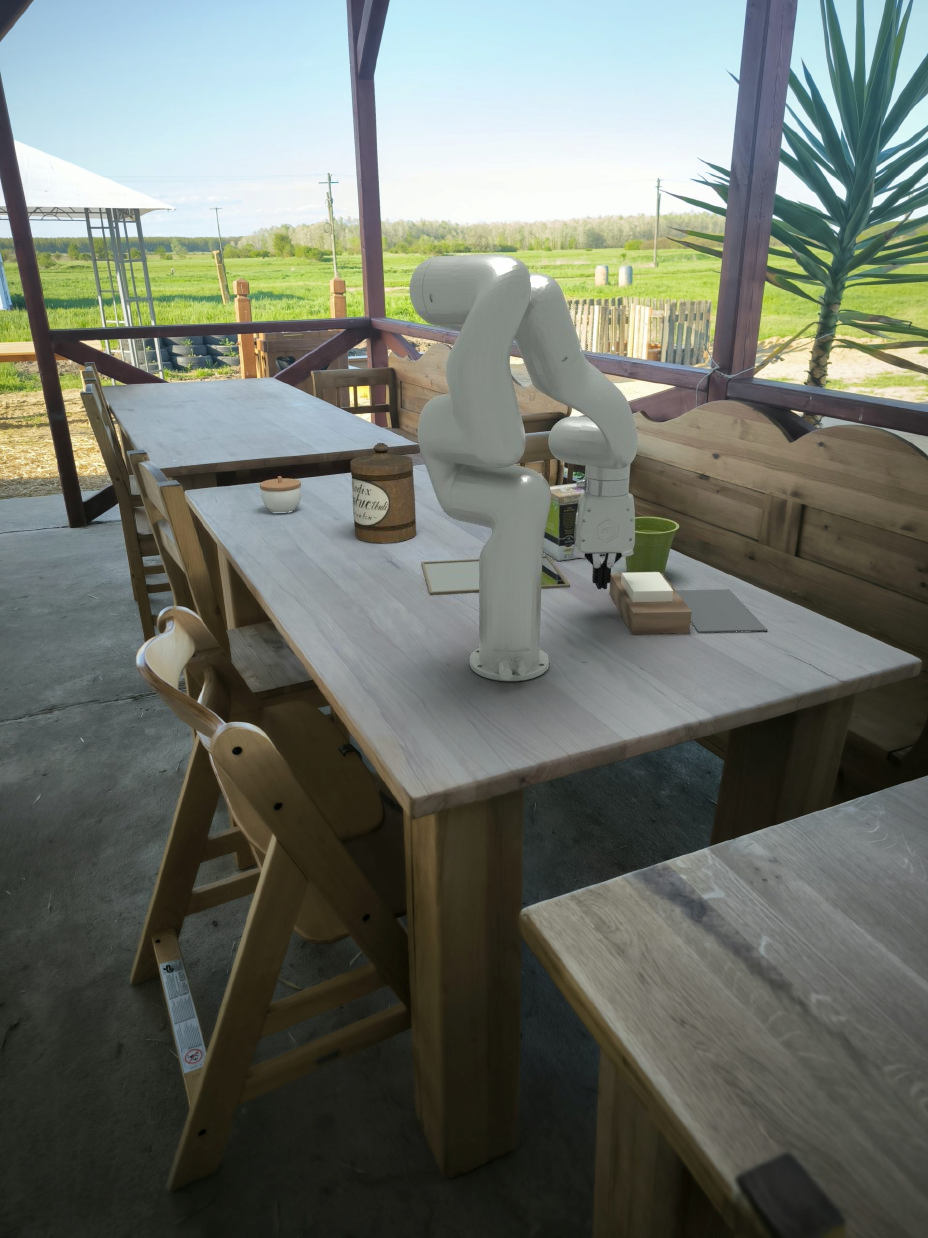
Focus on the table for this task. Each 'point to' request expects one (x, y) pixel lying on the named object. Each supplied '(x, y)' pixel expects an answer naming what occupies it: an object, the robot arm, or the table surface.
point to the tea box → (562, 522)
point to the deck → (651, 611)
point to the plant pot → (651, 544)
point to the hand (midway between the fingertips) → (600, 586)
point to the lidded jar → (281, 494)
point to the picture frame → (477, 576)
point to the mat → (719, 611)
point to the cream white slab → (646, 587)
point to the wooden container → (383, 497)
